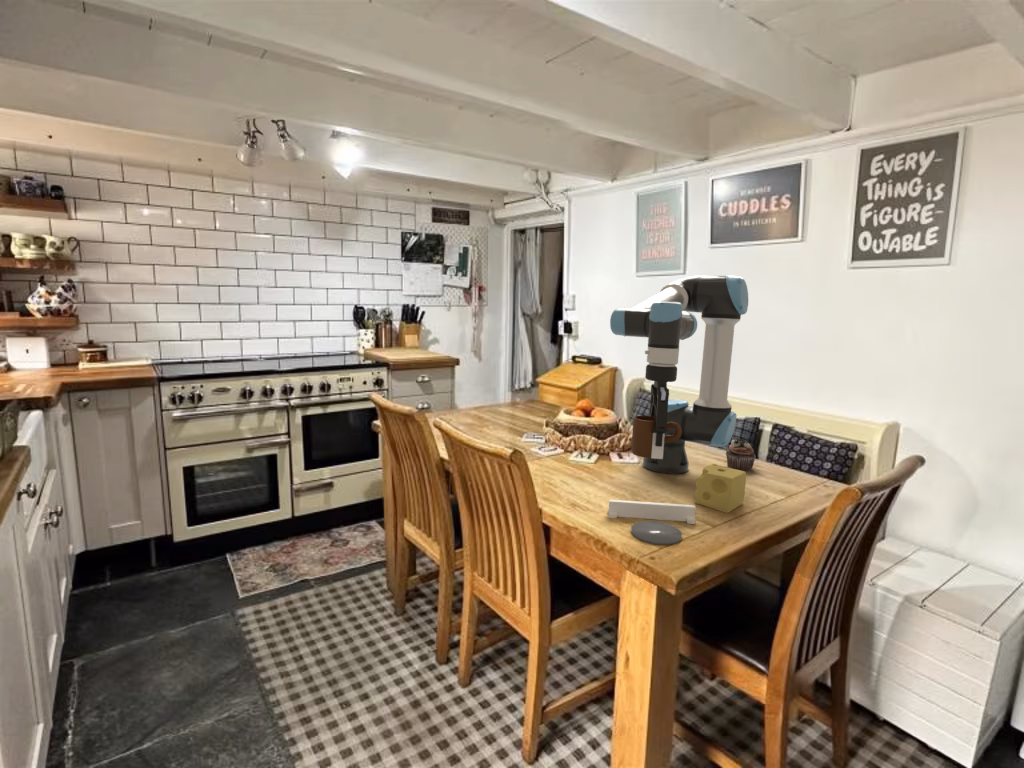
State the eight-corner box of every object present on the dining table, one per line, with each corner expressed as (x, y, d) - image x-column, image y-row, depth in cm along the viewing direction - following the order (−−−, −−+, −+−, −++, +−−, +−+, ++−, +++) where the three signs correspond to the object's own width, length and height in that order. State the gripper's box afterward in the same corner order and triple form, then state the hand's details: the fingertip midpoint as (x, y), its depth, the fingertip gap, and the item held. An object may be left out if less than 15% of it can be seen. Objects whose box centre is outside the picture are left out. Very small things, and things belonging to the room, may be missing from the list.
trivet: (628, 522, 140) (629, 519, 140) (676, 525, 139) (676, 522, 139) (633, 542, 129) (634, 539, 128) (686, 546, 127) (686, 543, 127)
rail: (607, 511, 147) (608, 497, 146) (691, 517, 144) (693, 503, 144) (608, 517, 143) (609, 503, 142) (695, 523, 140) (696, 509, 140)
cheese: (693, 503, 155) (696, 469, 153) (710, 494, 162) (713, 462, 161) (728, 514, 148) (732, 479, 146) (745, 504, 155) (748, 470, 154)
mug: (681, 455, 139) (684, 419, 138) (676, 463, 132) (680, 425, 131) (634, 449, 144) (637, 414, 143) (627, 455, 137) (630, 419, 136)
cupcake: (758, 472, 184) (761, 444, 183) (728, 470, 186) (730, 442, 184) (750, 464, 194) (753, 437, 192) (721, 462, 195) (724, 435, 193)
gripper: (642, 359, 146) (636, 443, 149) (651, 368, 126) (644, 464, 129) (670, 361, 145) (664, 445, 148) (684, 370, 125) (676, 466, 128)
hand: (654, 453), depth 139 cm, fingers closed on mug, 7 cm apart
